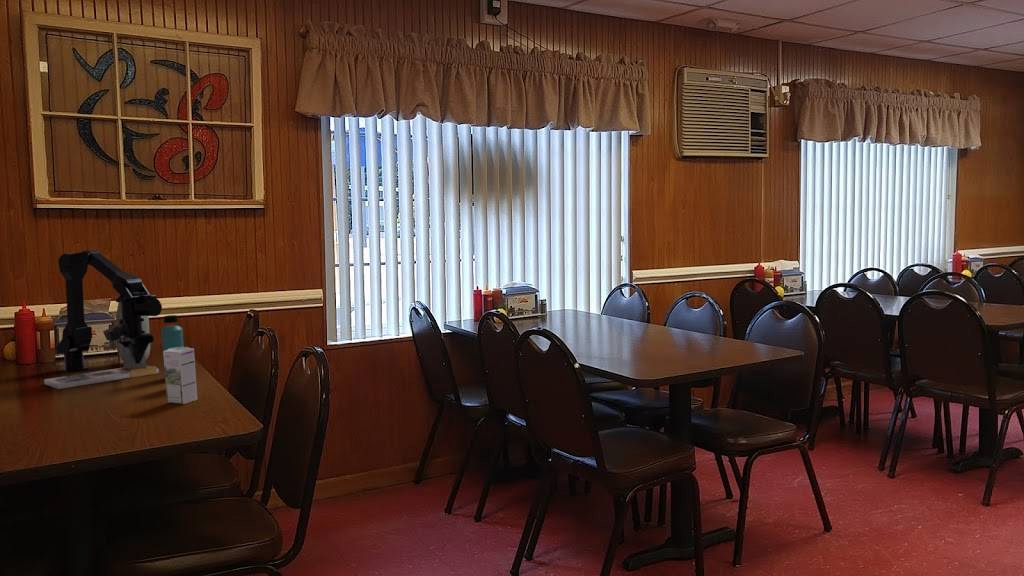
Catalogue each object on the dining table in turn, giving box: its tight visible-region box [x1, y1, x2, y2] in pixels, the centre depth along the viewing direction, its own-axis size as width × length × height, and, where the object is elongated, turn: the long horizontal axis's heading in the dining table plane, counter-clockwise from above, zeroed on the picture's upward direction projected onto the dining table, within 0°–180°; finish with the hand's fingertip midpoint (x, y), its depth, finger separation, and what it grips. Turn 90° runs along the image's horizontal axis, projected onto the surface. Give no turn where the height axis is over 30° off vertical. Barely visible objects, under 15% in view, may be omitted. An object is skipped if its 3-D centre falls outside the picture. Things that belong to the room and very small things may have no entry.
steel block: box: [123, 346, 147, 371], centre depth 254 cm, size 5×5×8 cm
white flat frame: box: [44, 364, 160, 390], centre depth 246 cm, size 13×30×2 cm, turn 138°
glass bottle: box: [115, 293, 151, 362], centre depth 272 cm, size 10×10×28 cm
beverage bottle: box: [160, 314, 185, 375], centre depth 243 cm, size 6×7×20 cm
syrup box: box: [162, 347, 198, 405], centre depth 209 cm, size 6×6×14 cm
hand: (134, 362), depth 254 cm, fingers closed on steel block, 5 cm apart
